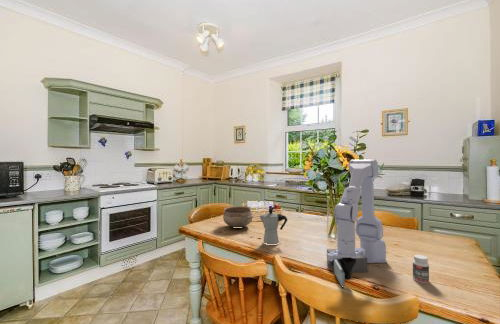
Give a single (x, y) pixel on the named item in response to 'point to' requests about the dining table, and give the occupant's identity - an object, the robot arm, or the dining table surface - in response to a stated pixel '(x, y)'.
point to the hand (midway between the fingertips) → (346, 278)
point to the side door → (339, 273)
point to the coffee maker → (272, 226)
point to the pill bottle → (420, 269)
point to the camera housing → (359, 265)
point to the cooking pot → (237, 216)
